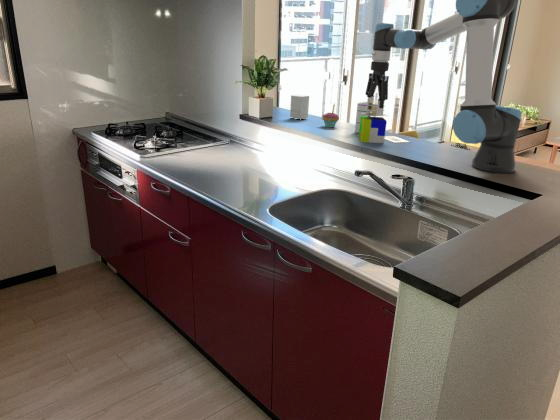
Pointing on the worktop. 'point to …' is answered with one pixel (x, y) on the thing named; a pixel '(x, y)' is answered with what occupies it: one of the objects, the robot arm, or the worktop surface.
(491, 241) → the worktop surface
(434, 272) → the worktop surface
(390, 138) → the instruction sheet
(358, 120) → the syrup box
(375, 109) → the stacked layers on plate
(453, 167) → the worktop surface
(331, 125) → the cupcake
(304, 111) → the supplement box
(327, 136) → the worktop surface
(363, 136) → the puzzle toy
